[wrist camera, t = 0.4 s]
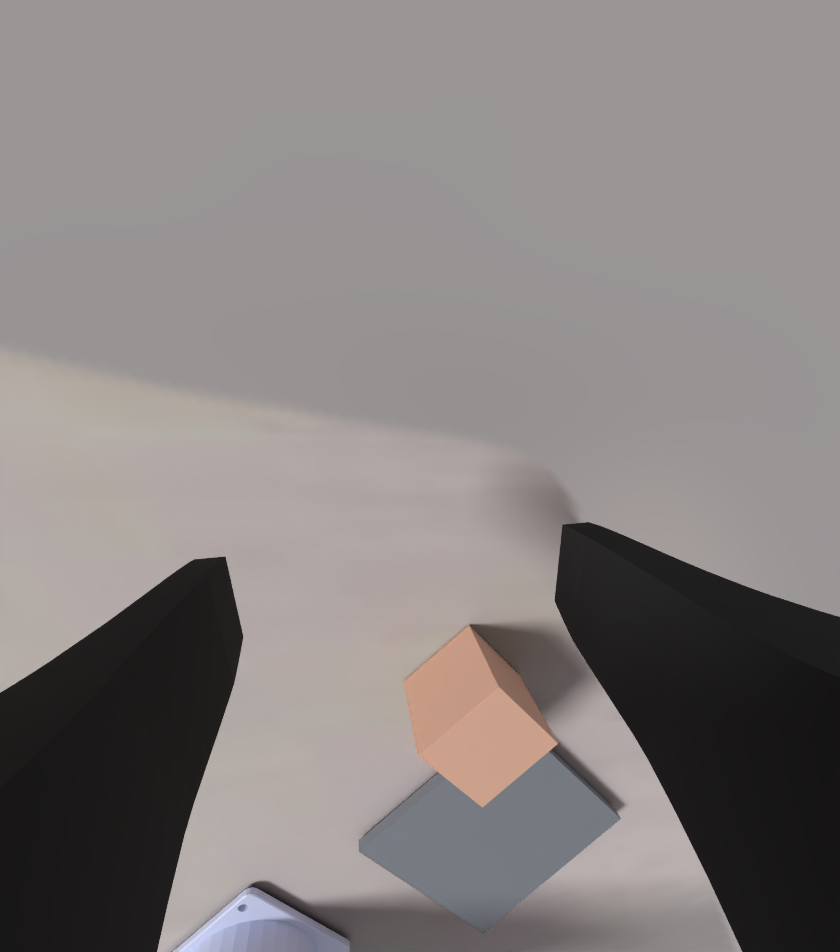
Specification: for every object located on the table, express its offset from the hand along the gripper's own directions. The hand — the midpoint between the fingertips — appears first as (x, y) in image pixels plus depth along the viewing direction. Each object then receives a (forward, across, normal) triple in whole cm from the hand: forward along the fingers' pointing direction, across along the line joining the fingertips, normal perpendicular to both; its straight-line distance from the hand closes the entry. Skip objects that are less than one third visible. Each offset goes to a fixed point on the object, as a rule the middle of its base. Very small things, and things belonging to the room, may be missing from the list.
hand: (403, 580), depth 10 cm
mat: (+8, -5, +23) cm, 25 cm away
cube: (+9, -4, +13) cm, 16 cm away
